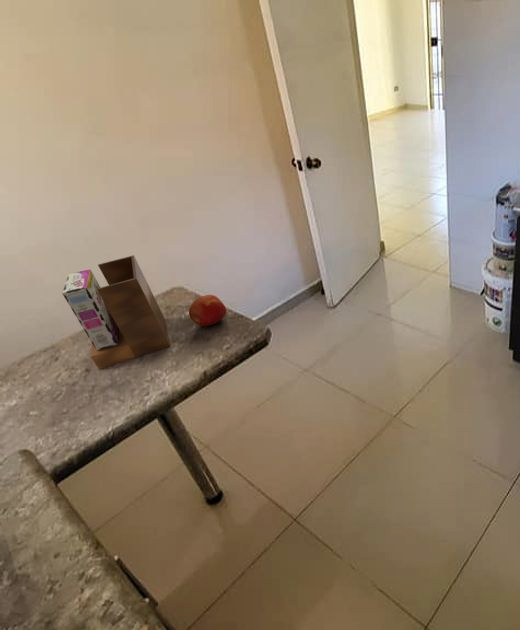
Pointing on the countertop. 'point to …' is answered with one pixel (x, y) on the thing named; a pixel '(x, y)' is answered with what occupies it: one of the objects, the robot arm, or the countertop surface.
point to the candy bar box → (91, 309)
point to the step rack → (130, 313)
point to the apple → (207, 310)
